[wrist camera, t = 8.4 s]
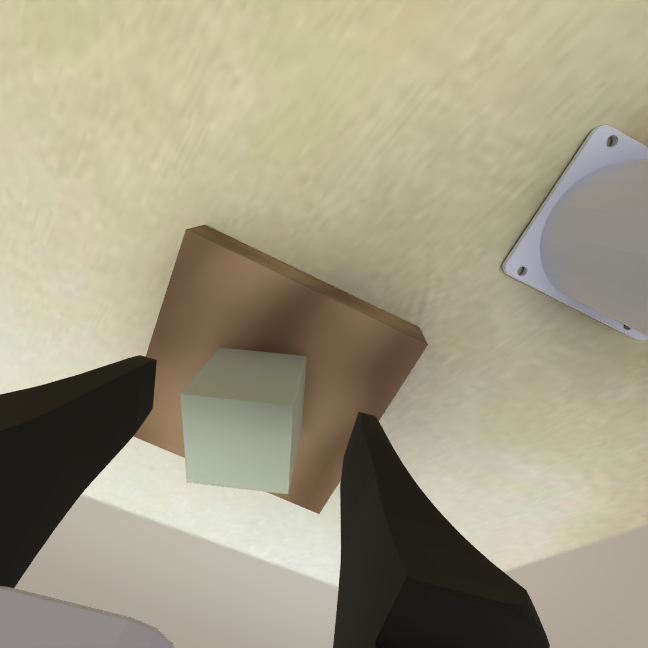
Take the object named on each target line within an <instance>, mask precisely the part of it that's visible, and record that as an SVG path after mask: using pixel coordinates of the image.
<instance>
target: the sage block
mask: <svg viewBox="0 0 648 648" xmlns="http://www.w3.org/2000/svg"><path fill="white" fill-rule="evenodd" d="M306 359H307V356H299V355H290V354H280V353H270V352H260V351H250V350H240V349H230V348H221V347H219V349H218V350H217V351H216V352H215V353H214V355H213V356H212V357H211V358H210V359H209V360H208V362H207V363H206V364H205V365H204V366H203V368H202V369H201V370H200V371H199V372H198V374H197V375H196V376H195V377H194V378H193V379H192V381H191V382H190V383H189V384H188V385H187V387H186V388H185V389H184V390H183V391H182V393H181V394H180V397H181V410H182V423H183V436H184V450H185V463H186V476H187V482H188V483H197V484H205V485H214V486H222V487H231V488H239V489H248V490H256V491H265V492H273V493H281V494H288V493H289V489H290V484H291V479H292V474H293V470H294V465H295V460H296V455H297V451H298V446H299V441H300V436H301V432H302V421H303V405H304V390H305V375H306Z"/></svg>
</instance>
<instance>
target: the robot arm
mask: <svg viewBox="0 0 648 648" xmlns="http://www.w3.org/2000/svg"><path fill="white" fill-rule="evenodd" d="M609 137H611V138H612V139H613V142H612V145H611V146H610V147H608V146H607V144H606V142H607V139H608V138H609ZM522 266H523V267H524V271H523V273H521V274H519V275H518V274H517V270H518V269H519V268H520V267H522ZM502 269H503V271H504V272H505V273H506V274H507V275H509V276H511V277H513V278H515V279H517V280H519V281H521V282H523V283H525V284H527V285H529V286H531V287H533V288H535V289H537V290H539V291H541V292H543V293H545V294H547V295H549V296H551V297H553V298H555V299H556V300H558V301H560V302H562V303H564V304H566V305H568V306H570V307H572V308H574V309H576V310H578V311H580V312H582V313H584V314H586V315H588V316H590V317H592V318H594V319H596V320H598V321H600V322H602V323H604V324H606V325H608V326H610V327H612V328H614V329H616V330H618V331H620V332H622V333H624V334H626V335H628V336H629V337H631V338H633V339H635V340H638V341H643V340H646V339H647V338H648V147H647V146H645V145H643V144H641V143H640V142H638V141H636V140H634V139H633V138H631V137H629V136H627V135H625V134H624V133H622V132H620V131H618V130H617V129H615V128H613V127H611V126H609V125H602V126H598V127H596V128H595V129H593V130H592V131H591V132H590V134H589V135H588V137H587V138H586V140H585V141H584V143H583V144H582V146H581V147H580V149H579V150H578V152H577V153H576V155H575V156H574V158H573V159H572V161H571V162H570V164H569V165H568V167H567V168H566V170H565V171H564V173H563V174H562V176H561V177H560V179H559V180H558V182H557V183H556V185H555V186H554V188H553V189H552V191H551V192H550V194H549V195H548V197H547V198H546V200H545V201H544V203H543V204H542V206H541V207H540V209H539V210H538V212H537V213H536V215H535V216H534V218H533V219H532V221H531V222H530V224H529V225H528V227H527V228H526V230H525V231H524V233H523V234H522V236H521V237H520V239H519V240H518V242H517V243H516V245H515V246H514V248H513V249H512V251H511V252H510V254H509V255H508V257H507V258H506V260H505V261H504V263H503V265H502ZM624 325H626V327H624ZM156 364H157V360H156V359H152V358H148V357H144V356H140V355H139V356H135V357H131V358H128V359H125V360H122V361H119V362H116V363H113V364H110V365H107V366H104V367H100V368H97V369H94V370H91V371H88V372H85V373H82V374H79V375H75V376H72V377H69V378H65V379H62V380H58V381H55V382H51V383H48V384H44V385H40V386H37V387H32V388H28V389H24V390H19V391H15V392H10V393H5V394H0V648H174V646H173V643H172V642H170V641H169V640H168V639H167V638H166V637H165V636H164V635H163V634H162V633H161V632H160V631H159V630H158V629H156V628H155V627H152V626H150V625H148V624H145V623H143V622H141V621H138V620H136V619H133V618H131V617H127V616H123V615H119V614H115V613H111V612H107V611H103V610H99V609H95V608H91V607H87V606H82V605H79V604H75V603H71V602H66V601H63V600H59V599H55V598H51V597H46V596H43V595H38V594H34V593H30V592H26V591H22V590H18V589H14V587H15V586H16V584H17V583H18V581H19V580H20V578H21V577H22V575H23V574H24V572H25V571H26V570H27V568H28V567H29V565H30V564H31V562H32V561H33V559H34V558H35V556H36V555H37V553H38V552H39V551H40V549H41V548H42V547H43V545H44V544H45V542H46V541H47V539H48V538H49V537H50V535H51V534H52V532H53V531H54V530H55V528H56V527H57V526H58V524H59V523H60V522H61V520H62V519H63V517H64V516H65V515H66V513H67V512H68V511H69V509H70V508H71V507H72V505H73V504H74V503H75V501H76V500H77V499H78V498H79V496H80V495H81V494H82V493H83V492H84V490H85V489H86V488H87V487H88V486H89V484H90V483H91V482H92V481H93V480H94V479H95V478H96V477H97V476H98V475H99V473H100V472H101V471H102V470H103V469H104V468H105V467H106V466H107V465H108V464H109V463H110V461H111V460H112V459H113V458H114V457H115V456H116V455H117V454H118V453H119V452H120V450H121V449H122V448H123V447H124V446H125V445H126V444H127V443H128V442H129V440H130V439H131V438H132V437H133V436H134V435H135V434H136V432H137V431H138V430H139V428H140V427H141V425H142V424H143V423H144V421H145V420H146V418H147V417H148V415H149V414H150V412H151V411H152V409H153V400H154V388H155V376H156ZM340 498H341V566H340V578H339V591H338V602H337V603H338V604H337V613H336V624H335V634H334V645H333V648H549V646H550V645H549V642H548V639H547V636H546V634H545V631H544V629H543V626H542V624H541V622H540V619H539V617H538V614H537V612H536V610H535V607H534V605H533V603H532V601H531V599H530V597H529V595H528V593H527V591H526V590H525V589H524V588H523V587H522V586H520V585H519V584H518V583H516V582H515V581H514V580H513V579H511V578H510V577H509V576H508V575H507V574H505V573H504V572H503V571H502V570H500V569H499V568H498V567H497V566H495V565H494V564H493V563H492V562H490V561H489V560H488V559H487V558H486V557H485V556H484V555H483V554H481V553H480V552H479V551H478V550H477V549H476V548H475V547H474V546H473V545H472V544H470V543H469V542H468V541H467V540H466V539H465V538H464V537H463V536H462V535H461V534H460V533H459V532H458V531H457V530H456V529H455V528H454V527H453V526H452V525H451V524H450V523H449V522H448V520H447V519H446V518H445V517H444V516H443V515H442V514H441V513H440V512H439V511H438V510H437V508H436V507H435V506H434V505H433V504H432V503H431V501H430V500H429V499H428V498H427V496H426V495H425V494H424V493H423V491H422V490H421V489H420V488H419V486H418V485H417V484H416V482H415V481H414V479H413V478H412V477H411V475H410V474H409V472H408V471H407V469H406V468H405V466H404V465H403V463H402V462H401V460H400V458H399V457H398V455H397V453H396V452H395V450H394V448H393V447H392V445H391V443H390V441H389V439H388V438H387V436H386V434H385V432H384V430H383V428H382V427H381V425H380V423H379V421H378V419H377V417H376V416H374V415H370V414H366V413H362V412H358V415H357V418H356V421H355V424H354V427H353V430H352V433H351V436H350V439H349V442H348V445H347V448H346V451H345V454H344V457H343V465H342V474H341V484H340Z"/></svg>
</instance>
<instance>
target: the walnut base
mask: <svg viewBox="0 0 648 648" xmlns="http://www.w3.org/2000/svg"><path fill="white" fill-rule="evenodd" d="M427 345H428V344H427V342H426V340H425V338H424V336H423V334H422V332H421V330H420V328H419V327H416V326H414V325H412V324H410V323H408V322H406V321H404V320H402V319H400V318H398V317H396V316H394V315H391V314H389V313H387V312H385V311H383V310H381V309H379V308H377V307H375V306H373V305H371V304H369V303H366V302H364V301H362V300H360V299H358V298H356V297H354V296H352V295H350V294H348V293H346V292H344V291H341V290H339V289H337V288H335V287H333V286H331V285H329V284H327V283H325V282H323V281H321V280H319V279H316V278H314V277H312V276H310V275H308V274H306V273H304V272H302V271H300V270H298V269H296V268H294V267H291V266H289V265H287V264H285V263H283V262H281V261H279V260H277V259H275V258H273V257H271V256H269V255H267V254H264V253H262V252H260V251H258V250H256V249H254V248H252V247H250V246H248V245H246V244H244V243H242V242H239V241H237V240H235V239H233V238H231V237H229V236H227V235H225V234H223V233H221V232H219V231H217V230H214V229H212V228H210V227H208V226H206V225H202V226H198V227H194V228H190V229H186V231H185V234H184V237H183V241H182V244H181V247H180V250H179V253H178V256H177V260H176V263H175V266H174V269H173V272H172V275H171V279H170V282H169V285H168V288H167V291H166V294H165V298H164V301H163V304H162V307H161V310H160V313H159V316H158V320H157V323H156V326H155V329H154V332H153V335H152V339H151V342H150V345H149V348H148V351H147V354H146V357H148V358H152V359H156V360H157V364H156V376H155V388H154V400H153V409H152V411H151V412H150V414H149V415H148V417H147V418H146V420H145V421H144V423H143V424H142V425H141V427H140V428H139V430H138V431H137V432H136V434H135V435H134V437H136V438H139V439H141V440H143V441H146V442H148V443H151V444H153V445H155V446H158V447H160V448H163V449H165V450H167V451H170V452H172V453H175V454H177V455H179V456H182V457H184V458H185V450H184V436H183V423H182V410H181V397H180V394H181V393H182V391H183V390H184V389H185V388H186V387H187V385H188V384H189V383H190V382H191V381H192V379H193V378H194V377H195V376H196V375H197V374H198V372H199V371H200V370H201V369H202V368H203V366H204V365H205V364H206V363H207V362H208V360H209V359H210V358H211V357H212V356H213V355H214V353H215V352H216V351H217V350H218V349H219V347H221V348H230V349H240V350H250V351H260V352H270V353H280V354H290V355H299V356H307V359H306V375H305V390H304V405H303V421H302V432H301V436H300V441H299V446H298V451H297V455H296V460H295V465H294V470H293V474H292V479H291V484H290V489H289V493H288V494H281V493H273V492H268V493H270V494H273V495H275V496H277V497H280V498H282V499H285V500H287V501H289V502H292V503H294V504H297V505H299V506H301V507H304V508H306V509H309V510H311V511H313V512H316V513H318V514H319V513H320V512H321V510H322V509H323V507H324V505H325V504H326V502H327V501H328V499H329V498H330V496H331V495H332V493H333V491H334V490H335V488H336V487H337V485H338V484H339V482H340V481H341V474H342V465H343V457H344V454H345V451H346V448H347V445H348V442H349V439H350V436H351V433H352V430H353V427H354V424H355V421H356V418H357V415H358V412H362V413H366V414H370V415H374V416H376V417H377V419H378V421H379V420H380V418H381V417H382V415H383V414H384V412H385V410H386V409H387V407H388V406H389V404H390V403H391V401H392V400H393V398H394V396H395V395H396V393H397V392H398V390H399V389H400V387H401V386H402V384H403V382H404V381H405V379H406V378H407V376H408V375H409V373H410V372H411V370H412V368H413V367H414V365H415V364H416V362H417V361H418V359H419V358H420V356H421V354H422V353H423V351H424V350H425V348H426V347H427Z"/></svg>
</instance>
